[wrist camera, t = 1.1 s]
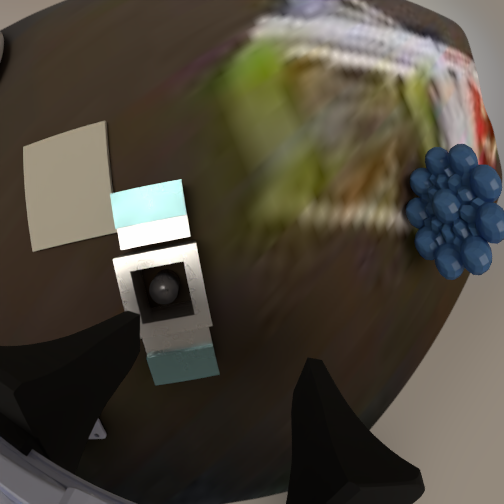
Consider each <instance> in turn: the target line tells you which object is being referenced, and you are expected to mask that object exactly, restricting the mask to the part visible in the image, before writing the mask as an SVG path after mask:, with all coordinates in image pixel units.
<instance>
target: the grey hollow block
mask: <svg viewBox="0 0 504 504" xmlns="http://www.w3.org/2000/svg"><path fill="white" fill-rule="evenodd" d="M183 261H184V266H185V271H186V276H187V281H188V286H189V290H190V295H191V301H186V302H181V303H175V304H170V305H164V306H159V307H153V308H150V305H149V301H148V297H147V292H146V288H145V284H144V279H143V274H142V270H141V269H146V268H151V267H156V266H161V265H167V264H172V263H177V262H183ZM113 263H114V268H115V272H116V277H117V281H118V286H119V290H120V294H121V298H122V302H123V306H124V310H125V311H131V312H134V313H137V314H140V339H142V338H149V337H155V336H161V335H166V334H172V333H178V332H183V331H189V330H194V329H199V328H205V327H210V326H213V325H212V321H211V316H210V311H209V306H208V302H207V297H206V292H205V287H204V282H203V277H202V272H201V266H200V261H199V256H198V250H197V245H196V240H191V241H186V242H181V243H175V244H170V245H165V246H160V247H154V248H149V249H144V250H139V251H134V252H129V253H125V254H123V255H120V256H118V257H116V258H114V259H113Z"/></svg>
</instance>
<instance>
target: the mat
mask: <svg viewBox="0 0 504 504" xmlns="http://www.w3.org/2000/svg"><path fill="white" fill-rule="evenodd" d="M23 161H24V183H25V196H26V207H27V216H28V224H29V231H30V238H31V244H32V250H33V252H34V251H38V250H42V249H46V248H51V247H55V246H59V245H63V244H67V243H72V242H76V241H80V240H85V239H89V238H94V237H98V236H103V235H107V234H112V233H117V232H118V231H117V229H115V224H114V218H113V211H112V204H111V197H110V194H112V193H113V186H112V178H111V169H110V159H109V147H108V134H107V123H106V121H102V122H98V123H95V124H91V125H87V126H84V127H81V128H77V129H74V130H71V131H68V132H64V133H61V134H58V135H55V136H52V137H49V138H47V139H44V140H41V141H38V142H35V143H33V144H30V145H28V146H25V147H23Z"/></svg>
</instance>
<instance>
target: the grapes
mask: <svg viewBox="0 0 504 504" xmlns="http://www.w3.org/2000/svg"><path fill="white" fill-rule="evenodd" d="M425 164H426V168H427V169H426V168H418V169H416V170H415V171H413V172H412V174H411V175H410V186H411V189H412V190H413V192H414V193H415V194H416V195H417V196H419V197H421V198H413V199H411V200H410V201H409V202H408V204H407V206H406V215H407V218H408V220H409V222H410V223H411V225H413V226H414V227H416V228H418V229H419V230H418V231H417V233H416V235H415V241H414V242H415V247H416V249H417V251H418V252H419V254H420V255H421V256H422V257H423V258H424V259H426V260H434V259H435V265H436V267H437V269H438V271H439V272H440V274H441V275H442V276H443V277H445V278H446V279H451V280H454V279H456V278H458V277H459V276H460V275H461V274H462V272H463V270H464V268H466V269H467V270H468V271H469V272H470V273H472V274H473V275H482V274H483V273H484V272H486V271H487V270H488V269H489V267H490V265H491V263H492V252H491V248H490V246H489V244H488V242H490V243H499V242H501V241H502V240H504V210H503V208H501V207H500V206H499V205H497V204H496V203H493V202H494V201H496V200H497V199H498V198H499V196H500V194H501V191H502V184H501V179H500V177H499V175H498V174H497V172H496V170H495V169H493V168H492V167H490V166H489V165H478V160H477V156H476V154H475V153H474V151H473V150H472V148H470V147H469V146H467V145H465V144H457V145H455V146H454V147H452V148H451V149H450V151H449V153H448V152H447V150H445V149H443V148H441V147H434V148H432V149H430V150H429V151H428V152H427V154H426V156H425ZM487 241H488V242H487Z"/></svg>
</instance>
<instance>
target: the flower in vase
mask: <svg viewBox="0 0 504 504" xmlns="http://www.w3.org/2000/svg"><path fill="white" fill-rule="evenodd" d="M3 48H4V38H3V34H2V33H1V31H0V61H1V58H2V54H3Z"/></svg>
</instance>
